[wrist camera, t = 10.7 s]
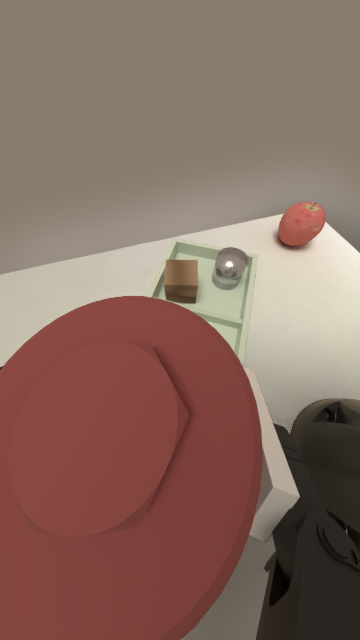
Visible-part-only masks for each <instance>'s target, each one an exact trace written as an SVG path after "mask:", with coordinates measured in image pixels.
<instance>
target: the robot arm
mask: <svg viewBox="0 0 360 640" xmlns="http://www.w3.org/2000/svg"><path fill="white" fill-rule="evenodd" d="M2 368H3V366H2V367H0V370H1V369H2ZM243 368H244V370H245V372H246V374H247V376H248V378H249V381H250V384H251V387H252V390H253V393H254V396H255V399H256V402H257V408H258V413H259V419H260V424H261V431H262V451H263V462H262V474H261V486H260V493H259V498H258V502H257V507H256V511H255V516H254V520H253V525H252V527H251V530H250V533H249V535H250V536H252V537H255V538H257V539H260V540H262V541H265V542H266V541H267V540H268V539H269V537H270V536H271V535H272V534H273V538H274V543H275V548H276V551H275V553H274V554H273V555H272V556H271V558H270V559H269V560H268V561H267V563H266V565H265V567H264V569H265V570H266V572H268V571H269V570H270V572H269V577H268V582H267V587H266V592H265V597H264V602H263V607H262V612H261V617H260V622H259V627H258V632H257V637H256V640H360V401H359V400H353V399H325V400H320V401H317V402H315V403H312V404H311V405H309V406H308V407H306V408H305V409H304V410H303V411H302V412H301V413H300V415H299V416H298V418H297V419H296V421H295V423H294V426H293V429H292V433H291V435H290V434H289V433H288V431H287V430H286V429H285V427H283V426H279V425H276V424H273V422H272V420H271V417H270V414H269V411H268V409H267V406H266V403H265V401H264V398H263V395H262V392H261V390H260V387H259V384H258V382H257V379H256V376H255V373H254V371H253V369H250V368H246V367H243Z"/></svg>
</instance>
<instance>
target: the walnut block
mask: <svg viewBox="0 0 360 640" xmlns="http://www.w3.org/2000/svg"><path fill="white" fill-rule="evenodd" d="M164 290H165V297H166V300H168V301H172V302H176V303H183V304H195V303H196V297H197V290H198V260H166V266H165V277H164Z"/></svg>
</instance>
